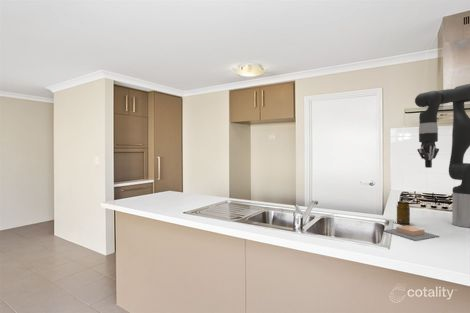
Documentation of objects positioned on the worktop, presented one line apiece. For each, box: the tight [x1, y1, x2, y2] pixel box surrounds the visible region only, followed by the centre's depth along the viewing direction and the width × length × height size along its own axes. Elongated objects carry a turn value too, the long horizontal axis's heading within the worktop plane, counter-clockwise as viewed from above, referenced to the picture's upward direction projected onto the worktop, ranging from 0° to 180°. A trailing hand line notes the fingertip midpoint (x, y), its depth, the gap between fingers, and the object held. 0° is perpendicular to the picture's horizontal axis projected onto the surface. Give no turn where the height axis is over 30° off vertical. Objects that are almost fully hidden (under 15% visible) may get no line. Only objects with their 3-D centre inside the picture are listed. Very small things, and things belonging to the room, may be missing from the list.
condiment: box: [393, 200, 416, 227], centre depth 145 cm, size 7×8×12 cm
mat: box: [382, 228, 440, 242], centre depth 127 cm, size 16×16×1 cm
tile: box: [395, 225, 425, 236], centre depth 127 cm, size 2×8×8 cm
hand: (428, 167), depth 131 cm, fingers closed
